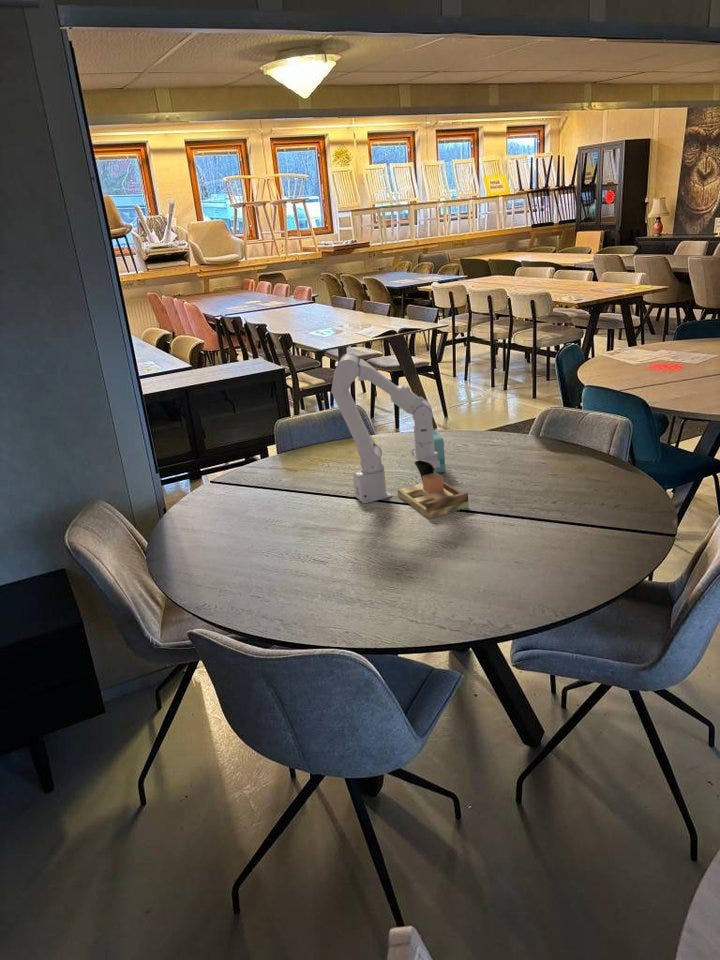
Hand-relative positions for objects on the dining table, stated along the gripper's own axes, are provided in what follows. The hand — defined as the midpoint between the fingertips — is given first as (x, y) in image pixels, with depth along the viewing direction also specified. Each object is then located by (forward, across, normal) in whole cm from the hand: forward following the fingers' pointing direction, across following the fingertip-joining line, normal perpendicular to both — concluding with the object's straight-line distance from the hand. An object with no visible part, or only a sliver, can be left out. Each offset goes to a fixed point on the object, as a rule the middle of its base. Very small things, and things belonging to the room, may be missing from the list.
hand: (427, 483), depth 206 cm
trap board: (+3, -7, +2) cm, 8 cm away
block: (+1, -4, 0) cm, 4 cm away
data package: (+3, +17, -11) cm, 21 cm away
